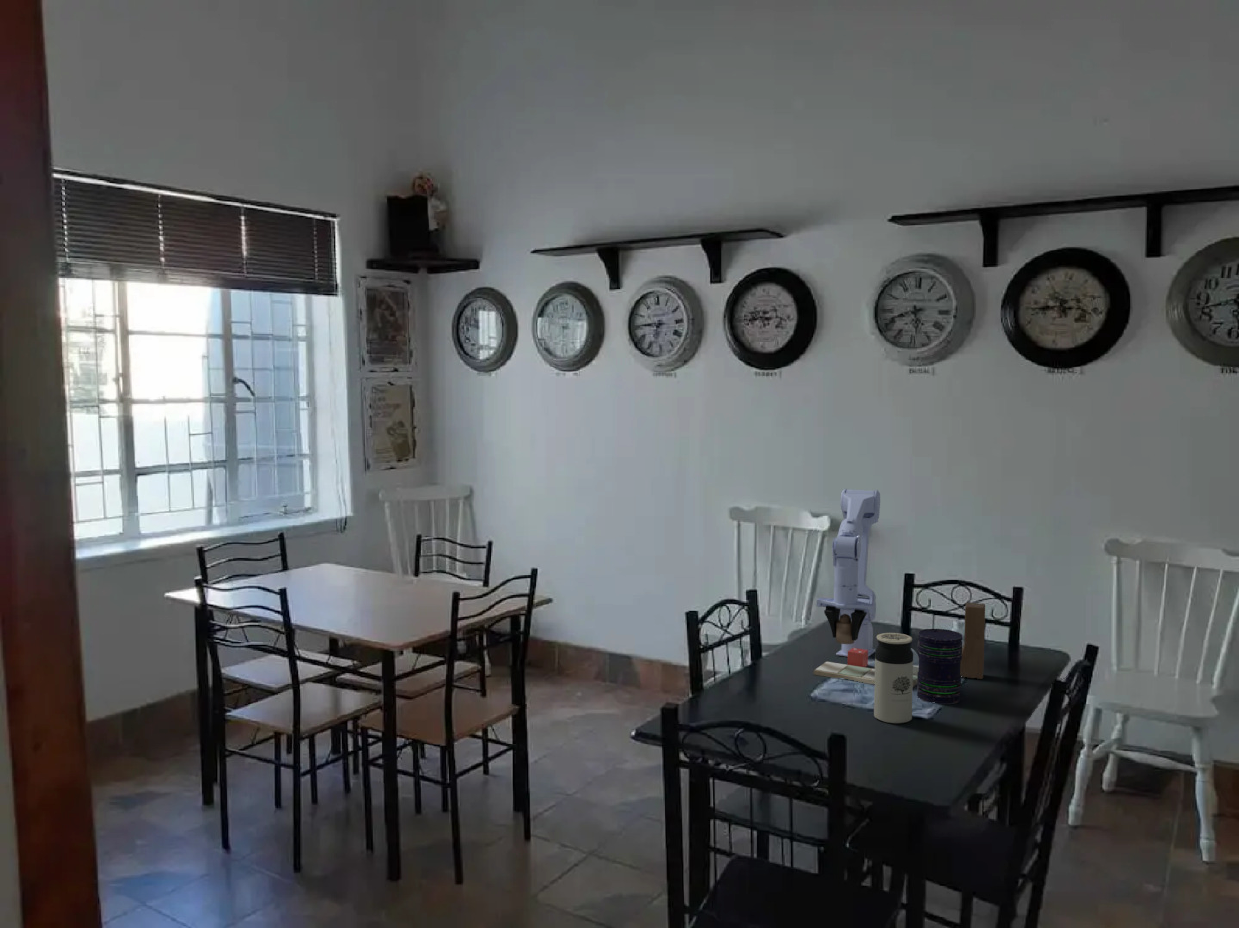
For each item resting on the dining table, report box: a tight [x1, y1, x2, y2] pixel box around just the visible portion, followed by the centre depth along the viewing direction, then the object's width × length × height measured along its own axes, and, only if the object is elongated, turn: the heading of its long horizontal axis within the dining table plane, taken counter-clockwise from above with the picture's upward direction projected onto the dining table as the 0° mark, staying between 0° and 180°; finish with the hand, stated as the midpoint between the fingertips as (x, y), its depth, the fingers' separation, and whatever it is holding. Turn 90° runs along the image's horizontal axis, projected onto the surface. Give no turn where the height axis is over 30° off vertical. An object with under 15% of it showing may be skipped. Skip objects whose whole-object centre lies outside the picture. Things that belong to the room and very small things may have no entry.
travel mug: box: [873, 632, 914, 724], centre depth 215 cm, size 8×8×18 cm
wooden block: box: [960, 602, 986, 680], centre depth 245 cm, size 9×4×18 cm, turn 68°
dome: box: [910, 647, 919, 666], centre depth 249 cm, size 7×7×5 cm
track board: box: [813, 661, 918, 688], centre depth 245 cm, size 9×24×1 cm, turn 58°
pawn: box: [835, 614, 854, 645], centre depth 246 cm, size 4×4×7 cm
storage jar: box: [916, 628, 963, 705], centre depth 229 cm, size 10×10×15 cm
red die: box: [846, 648, 869, 668], centre depth 254 cm, size 4×4×4 cm
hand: (845, 638), depth 247 cm, fingers closed on pawn, 4 cm apart
